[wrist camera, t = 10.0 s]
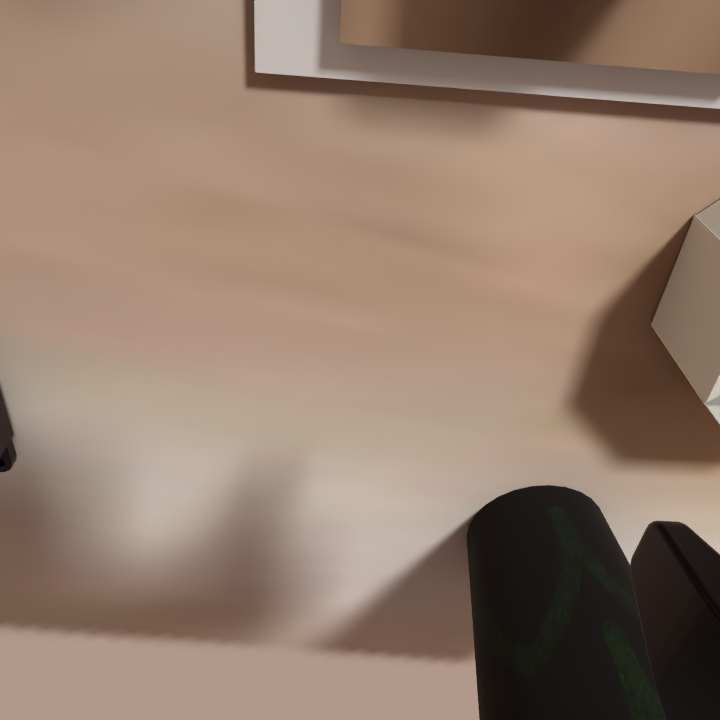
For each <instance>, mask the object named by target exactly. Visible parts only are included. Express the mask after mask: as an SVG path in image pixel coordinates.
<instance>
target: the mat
mask: <svg viewBox="0 0 720 720" xmlns="http://www.w3.org/2000/svg"><path fill="white" fill-rule="evenodd" d="M340 14H341V0H254V26H255V72H256V73H269V74H282V75H295V76H307V77H320V78H333V79H346V80H358V81H371V82H384V83H397V84H409V85H422V86H435V87H448V88H460V89H473V90H486V91H499V92H512V93H524V94H537V95H550V96H563V97H575V98H588V99H601V100H614V101H626V102H639V103H652V104H665V105H678V106H690V107H703V108H716V109H720V74H709V73H697V72H685V71H672V70H660V69H648V68H636V67H623V66H611V65H599V64H587V63H574V62H562V61H550V60H537V59H525V58H513V57H501V56H488V55H476V54H464V53H452V52H439V51H427V50H415V49H403V48H390V47H378V46H366V45H353V44H341V43H339V32H340Z"/></svg>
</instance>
